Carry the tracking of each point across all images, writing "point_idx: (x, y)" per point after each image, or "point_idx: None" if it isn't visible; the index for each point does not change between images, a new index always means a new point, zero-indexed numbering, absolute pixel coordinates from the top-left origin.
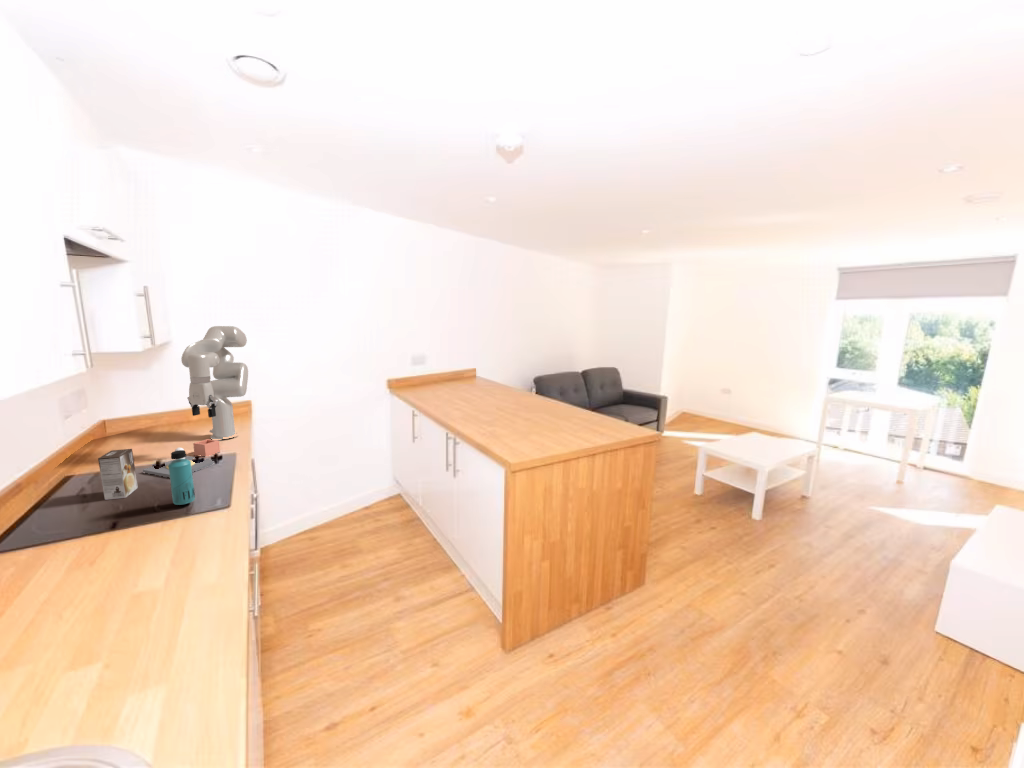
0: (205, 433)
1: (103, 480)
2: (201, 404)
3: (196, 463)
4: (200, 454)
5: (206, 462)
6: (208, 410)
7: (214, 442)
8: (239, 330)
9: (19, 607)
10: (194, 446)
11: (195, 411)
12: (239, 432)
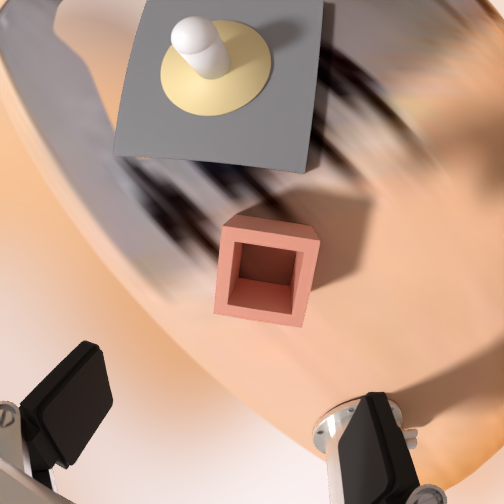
0: (439, 426)
1: None
2: (22, 489)
3: (164, 99)
4: (270, 220)
5: (133, 123)
6: (33, 395)
7: (216, 286)
8: None
9: None
10: (311, 235)
11: (364, 449)
12: None
